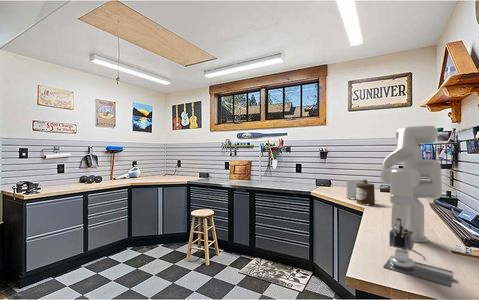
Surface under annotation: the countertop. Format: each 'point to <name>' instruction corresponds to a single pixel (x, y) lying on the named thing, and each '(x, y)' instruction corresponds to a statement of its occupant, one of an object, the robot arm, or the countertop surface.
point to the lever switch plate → (418, 268)
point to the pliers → (417, 253)
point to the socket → (408, 239)
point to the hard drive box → (352, 187)
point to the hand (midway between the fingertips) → (401, 243)
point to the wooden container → (365, 193)
